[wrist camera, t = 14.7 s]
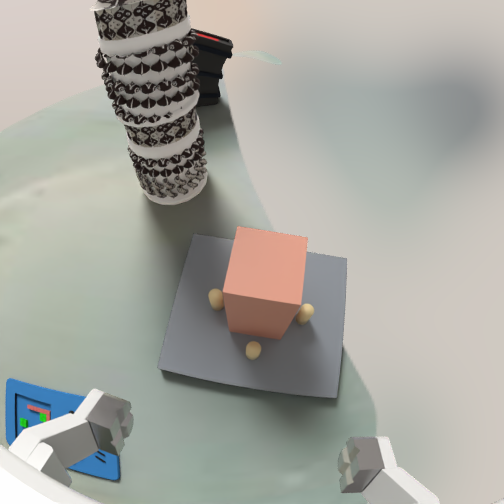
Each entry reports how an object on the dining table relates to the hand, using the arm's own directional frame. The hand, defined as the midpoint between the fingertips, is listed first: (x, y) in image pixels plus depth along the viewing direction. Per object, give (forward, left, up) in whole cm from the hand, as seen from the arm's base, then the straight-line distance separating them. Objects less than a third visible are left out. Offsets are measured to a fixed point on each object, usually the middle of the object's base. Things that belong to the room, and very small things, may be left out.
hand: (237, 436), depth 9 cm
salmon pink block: (0, +10, -15) cm, 18 cm away
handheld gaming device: (-18, -7, -17) cm, 26 cm away
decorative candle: (-13, +25, -17) cm, 32 cm away
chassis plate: (0, +10, -16) cm, 19 cm away
